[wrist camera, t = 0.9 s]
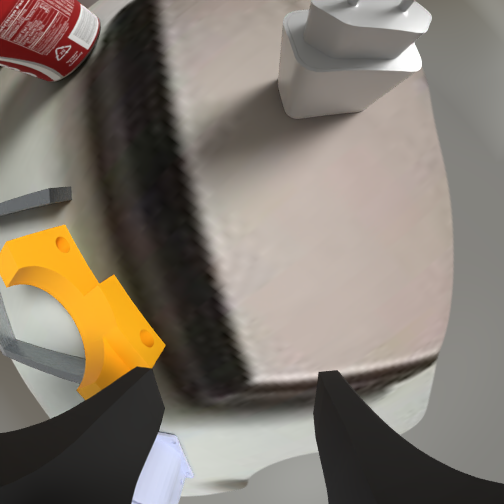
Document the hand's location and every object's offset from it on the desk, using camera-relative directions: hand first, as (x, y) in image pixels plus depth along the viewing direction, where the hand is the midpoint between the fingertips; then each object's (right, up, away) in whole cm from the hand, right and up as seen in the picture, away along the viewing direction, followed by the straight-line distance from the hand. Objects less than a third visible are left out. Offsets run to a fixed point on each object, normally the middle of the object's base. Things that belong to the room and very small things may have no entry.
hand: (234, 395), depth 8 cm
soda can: (-14, +22, +5) cm, 27 cm away
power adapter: (+5, +15, +6) cm, 17 cm away
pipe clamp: (-11, +2, +10) cm, 15 cm away
